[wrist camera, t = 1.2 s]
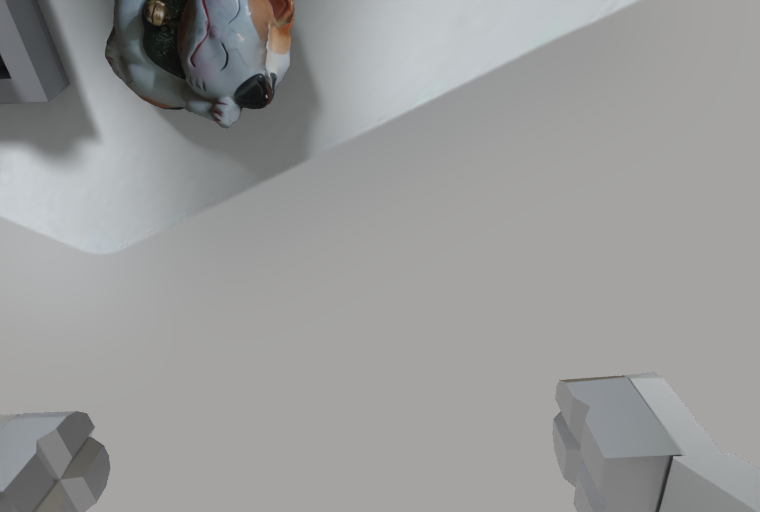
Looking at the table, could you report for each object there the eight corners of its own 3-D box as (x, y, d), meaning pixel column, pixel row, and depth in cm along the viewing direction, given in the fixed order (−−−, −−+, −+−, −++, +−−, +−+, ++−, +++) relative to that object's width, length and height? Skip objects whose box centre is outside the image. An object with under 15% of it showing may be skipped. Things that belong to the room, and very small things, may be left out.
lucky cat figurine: (138, -110, 36) (207, -122, 27) (266, -19, 45) (348, -7, 36) (82, 73, 39) (127, 115, 30) (212, 123, 48) (276, 167, 39)
